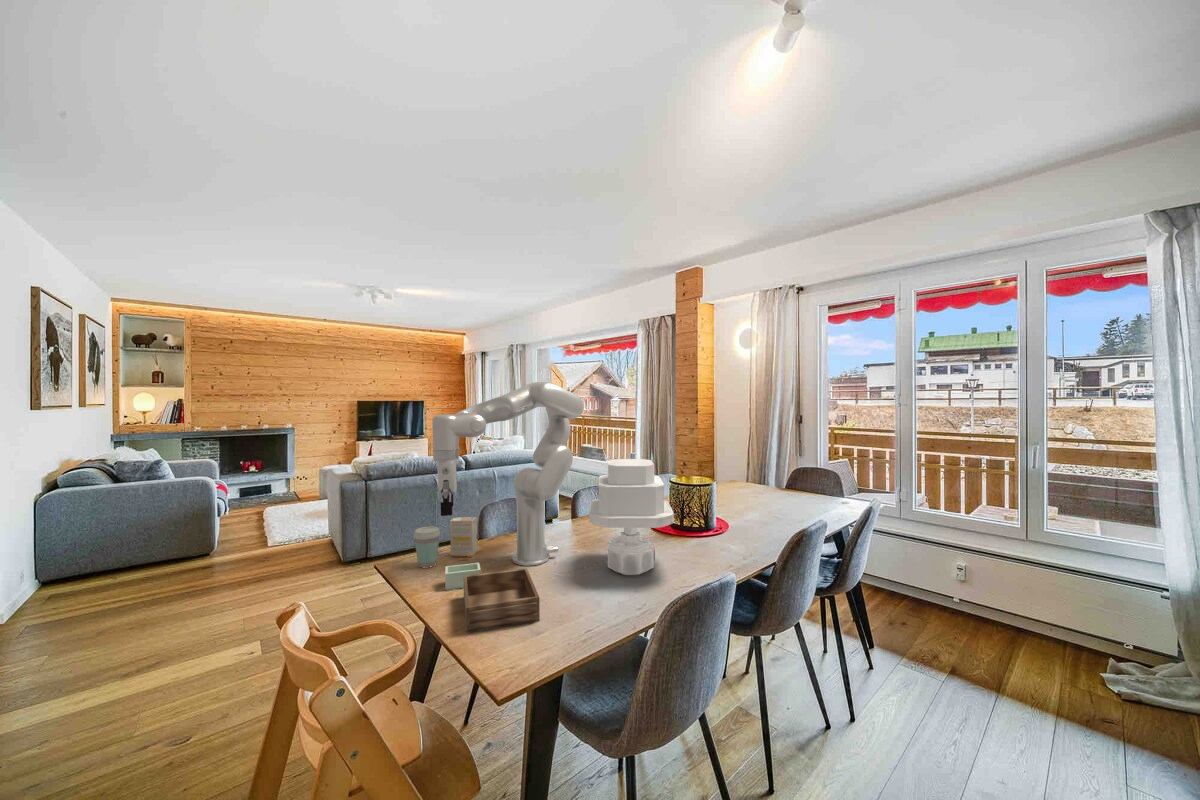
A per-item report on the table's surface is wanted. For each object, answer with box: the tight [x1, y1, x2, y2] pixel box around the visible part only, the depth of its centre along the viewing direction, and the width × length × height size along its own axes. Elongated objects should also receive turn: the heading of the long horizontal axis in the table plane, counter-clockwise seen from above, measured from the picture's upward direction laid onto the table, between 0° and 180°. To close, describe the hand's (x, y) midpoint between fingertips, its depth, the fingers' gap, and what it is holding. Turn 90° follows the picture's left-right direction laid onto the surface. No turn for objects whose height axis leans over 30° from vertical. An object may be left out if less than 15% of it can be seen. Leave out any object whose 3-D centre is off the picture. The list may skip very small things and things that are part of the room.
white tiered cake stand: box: [588, 458, 675, 576], centre depth 151 cm, size 27×27×35 cm
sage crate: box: [444, 562, 481, 591], centre depth 139 cm, size 10×6×5 cm, turn 108°
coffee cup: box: [413, 526, 441, 568], centre depth 154 cm, size 9×8×12 cm
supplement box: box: [449, 516, 478, 558], centre depth 164 cm, size 8×5×13 cm, turn 84°
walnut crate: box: [463, 568, 541, 633], centre depth 123 cm, size 18×21×6 cm
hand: (447, 511), depth 140 cm, fingers open, 9 cm apart
